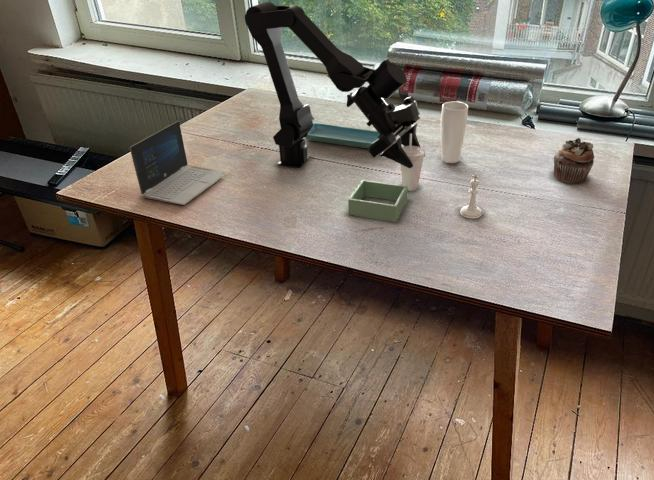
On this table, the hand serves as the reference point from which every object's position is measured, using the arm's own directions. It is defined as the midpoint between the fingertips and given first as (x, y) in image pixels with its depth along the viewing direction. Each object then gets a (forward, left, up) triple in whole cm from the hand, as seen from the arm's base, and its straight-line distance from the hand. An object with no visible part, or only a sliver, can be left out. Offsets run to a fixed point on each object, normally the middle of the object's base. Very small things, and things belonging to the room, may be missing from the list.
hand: (416, 161), depth 136 cm
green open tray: (-6, -12, -7) cm, 15 cm away
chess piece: (+15, -8, -7) cm, 19 cm away
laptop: (-55, -16, -7) cm, 58 cm away
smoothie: (-1, 0, -7) cm, 7 cm away
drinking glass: (+5, +19, -7) cm, 21 cm away
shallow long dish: (-25, +23, -7) cm, 35 cm away
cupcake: (+36, +18, -7) cm, 41 cm away
